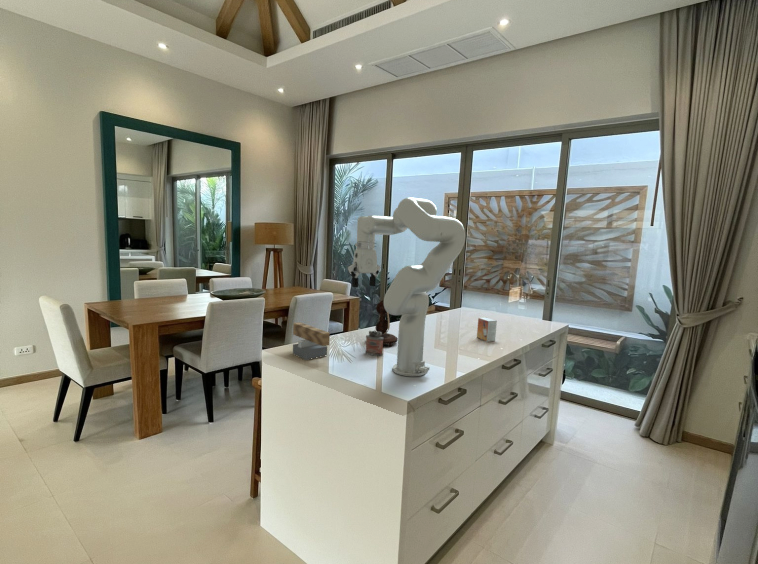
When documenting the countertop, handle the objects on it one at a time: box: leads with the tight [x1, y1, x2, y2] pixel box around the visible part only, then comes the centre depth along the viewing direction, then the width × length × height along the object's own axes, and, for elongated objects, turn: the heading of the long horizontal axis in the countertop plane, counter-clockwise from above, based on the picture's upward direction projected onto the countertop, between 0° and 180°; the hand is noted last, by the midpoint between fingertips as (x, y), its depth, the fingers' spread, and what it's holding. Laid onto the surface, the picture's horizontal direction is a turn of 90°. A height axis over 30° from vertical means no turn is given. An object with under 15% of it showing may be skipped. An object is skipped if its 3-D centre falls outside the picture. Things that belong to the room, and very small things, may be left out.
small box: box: [476, 317, 498, 342], centre depth 202 cm, size 8×6×10 cm
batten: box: [292, 321, 330, 347], centre depth 161 cm, size 22×3×5 cm, turn 43°
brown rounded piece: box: [374, 299, 398, 347], centre depth 185 cm, size 15×15×20 cm
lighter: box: [364, 329, 384, 357], centre depth 167 cm, size 8×3×10 cm, turn 62°
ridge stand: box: [292, 339, 328, 361], centre depth 162 cm, size 10×10×6 cm
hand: (363, 286), depth 168 cm, fingers open, 9 cm apart
